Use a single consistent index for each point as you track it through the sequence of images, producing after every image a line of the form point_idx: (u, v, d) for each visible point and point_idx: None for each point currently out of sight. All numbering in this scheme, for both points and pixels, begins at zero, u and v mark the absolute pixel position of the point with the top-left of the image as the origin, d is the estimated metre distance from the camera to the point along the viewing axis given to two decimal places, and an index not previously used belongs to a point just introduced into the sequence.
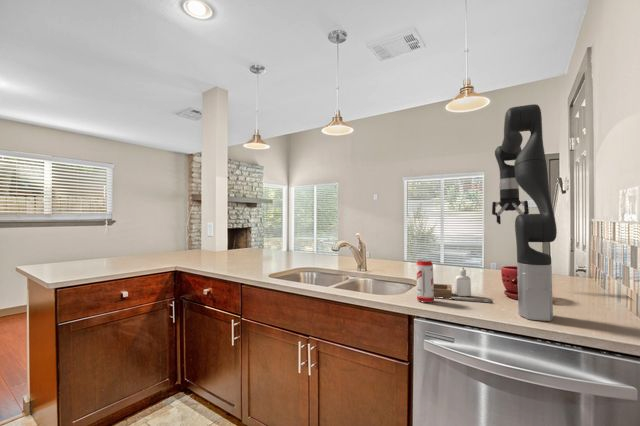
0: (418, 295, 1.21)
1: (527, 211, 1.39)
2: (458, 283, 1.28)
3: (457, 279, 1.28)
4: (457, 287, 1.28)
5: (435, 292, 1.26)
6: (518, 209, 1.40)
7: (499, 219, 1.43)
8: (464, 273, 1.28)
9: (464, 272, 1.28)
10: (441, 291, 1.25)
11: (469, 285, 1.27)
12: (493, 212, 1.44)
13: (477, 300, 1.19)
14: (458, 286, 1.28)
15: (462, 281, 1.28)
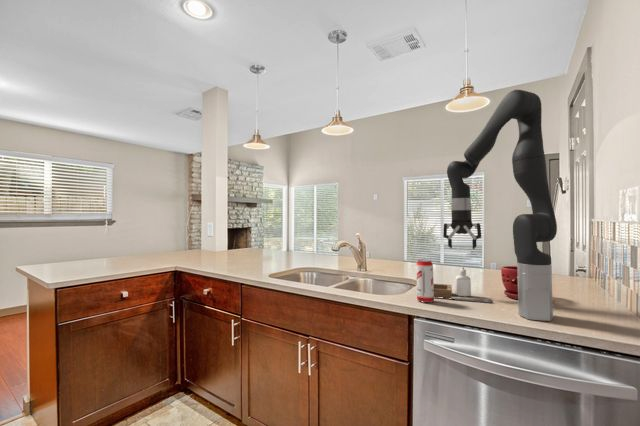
0: (418, 295, 1.21)
1: (479, 235, 1.26)
2: (458, 283, 1.28)
3: (457, 279, 1.28)
4: (457, 287, 1.28)
5: (435, 292, 1.26)
6: (470, 232, 1.27)
7: (450, 243, 1.30)
8: (464, 273, 1.28)
9: (464, 272, 1.28)
10: (441, 291, 1.25)
11: (469, 285, 1.27)
12: (444, 235, 1.31)
13: (477, 300, 1.19)
14: (458, 286, 1.28)
15: (462, 281, 1.28)
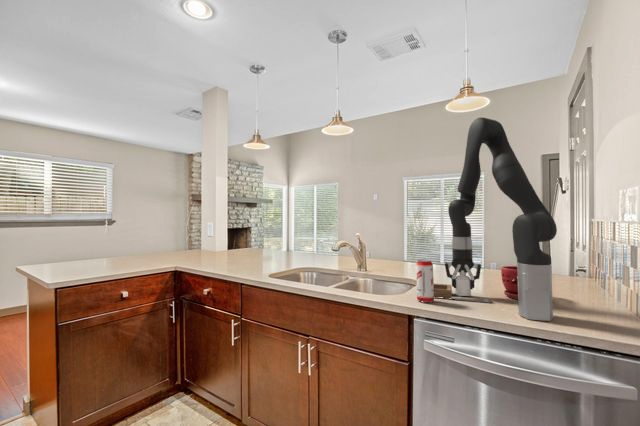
0: (418, 295, 1.21)
1: (477, 276, 1.26)
2: (458, 283, 1.28)
3: (457, 279, 1.28)
4: (457, 287, 1.28)
5: (435, 292, 1.26)
6: (469, 272, 1.27)
7: (454, 283, 1.29)
8: (464, 273, 1.28)
9: None
10: (441, 291, 1.25)
11: (469, 285, 1.27)
12: (447, 275, 1.30)
13: (477, 300, 1.19)
14: (458, 286, 1.28)
15: (462, 281, 1.28)
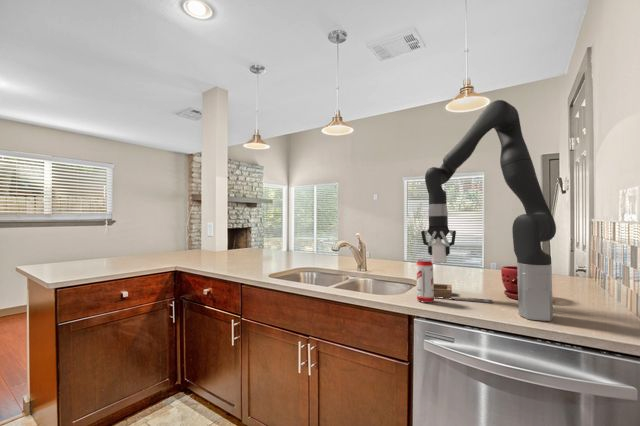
0: (418, 295, 1.21)
1: (452, 242, 1.28)
2: (433, 249, 1.30)
3: (433, 246, 1.31)
4: (433, 254, 1.31)
5: (435, 292, 1.26)
6: (445, 239, 1.29)
7: (430, 250, 1.31)
8: (440, 240, 1.30)
9: (440, 239, 1.30)
10: (441, 291, 1.25)
11: (444, 251, 1.29)
12: (424, 242, 1.32)
13: (477, 300, 1.19)
14: (434, 253, 1.30)
15: (437, 248, 1.30)
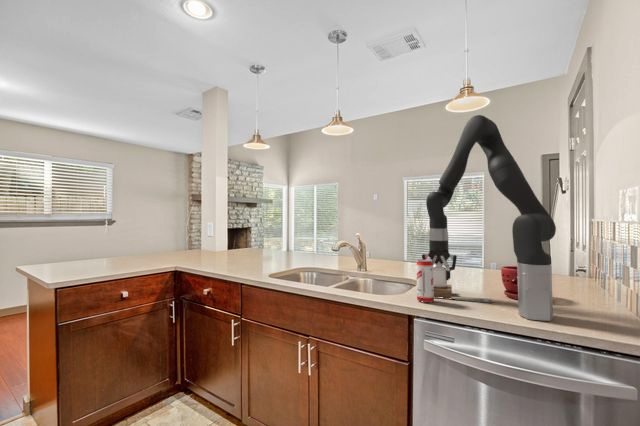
0: (418, 295, 1.21)
1: (453, 267, 1.28)
2: (434, 274, 1.30)
3: (433, 270, 1.30)
4: (433, 278, 1.30)
5: (435, 292, 1.26)
6: (445, 263, 1.28)
7: None
8: (440, 264, 1.30)
9: None
10: (441, 291, 1.25)
11: (445, 276, 1.29)
12: None
13: (477, 300, 1.19)
14: (435, 277, 1.30)
15: (438, 272, 1.30)
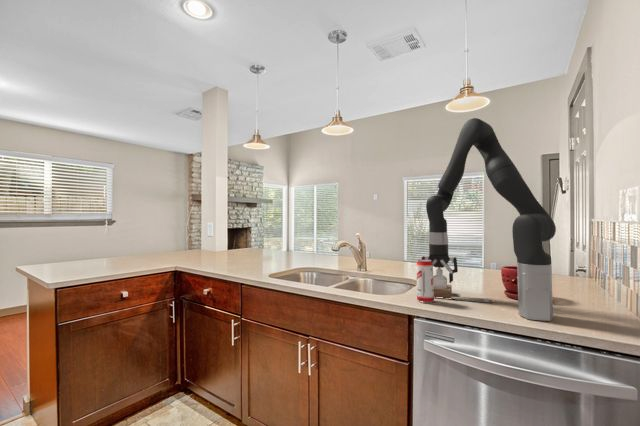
0: (418, 295, 1.21)
1: (456, 269, 1.27)
2: (434, 282, 1.30)
3: (434, 279, 1.30)
4: (434, 286, 1.30)
5: (435, 292, 1.26)
6: (446, 267, 1.28)
7: None
8: (440, 273, 1.30)
9: (440, 272, 1.30)
10: (441, 291, 1.25)
11: (445, 284, 1.29)
12: None
13: (477, 300, 1.19)
14: (435, 286, 1.30)
15: (438, 281, 1.29)
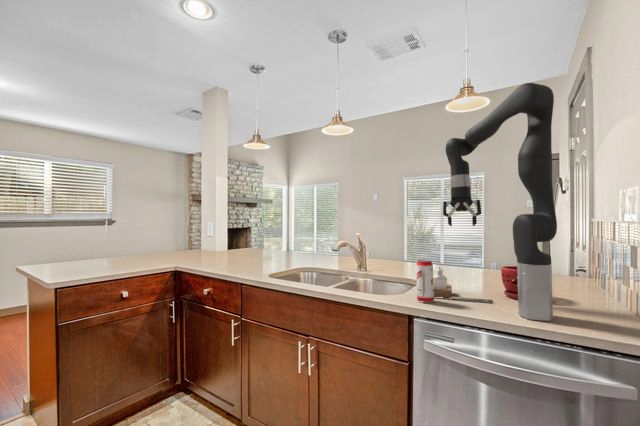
0: (418, 295, 1.21)
1: (479, 211, 1.25)
2: (434, 282, 1.30)
3: (434, 279, 1.30)
4: (434, 286, 1.30)
5: (435, 292, 1.26)
6: (470, 209, 1.25)
7: (450, 220, 1.29)
8: (440, 273, 1.30)
9: (440, 272, 1.30)
10: (441, 291, 1.25)
11: (445, 284, 1.29)
12: (444, 213, 1.30)
13: (477, 300, 1.19)
14: (435, 286, 1.30)
15: (438, 281, 1.29)
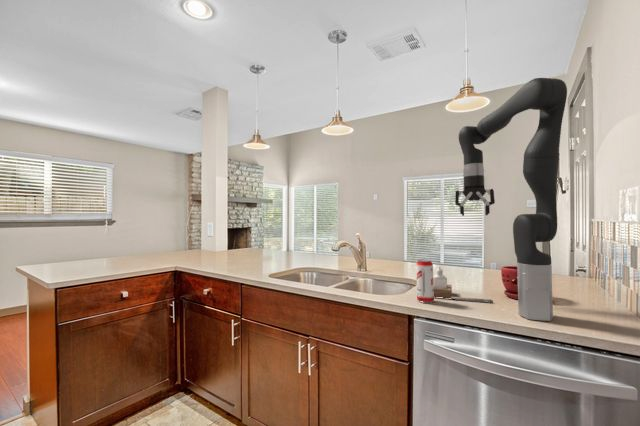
0: (418, 295, 1.21)
1: (493, 201, 1.23)
2: (434, 282, 1.30)
3: (434, 279, 1.30)
4: (434, 286, 1.30)
5: (435, 292, 1.26)
6: (483, 198, 1.24)
7: (462, 210, 1.27)
8: (440, 273, 1.30)
9: (440, 272, 1.30)
10: (441, 291, 1.25)
11: (445, 284, 1.29)
12: (456, 202, 1.28)
13: (477, 300, 1.19)
14: (435, 286, 1.30)
15: (438, 281, 1.29)
